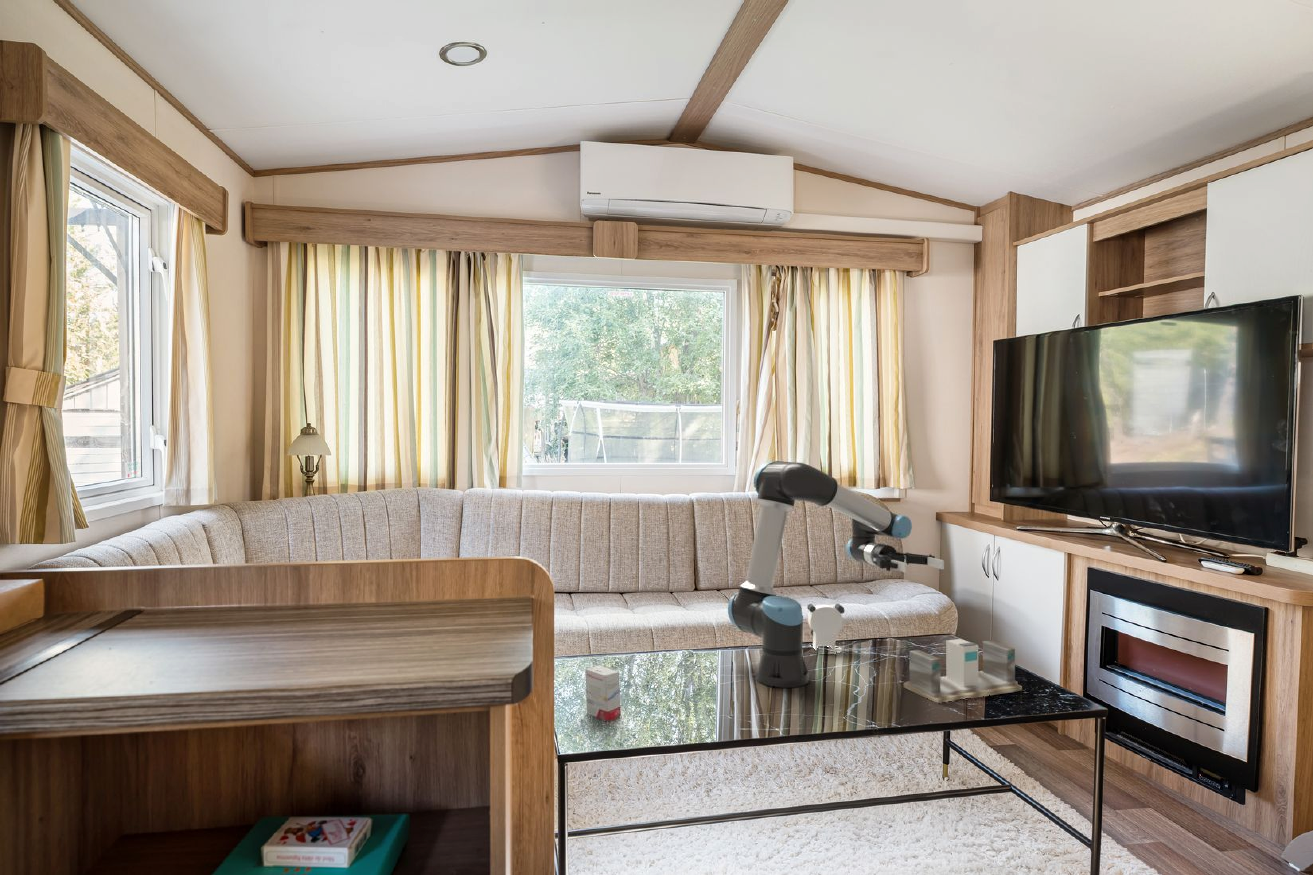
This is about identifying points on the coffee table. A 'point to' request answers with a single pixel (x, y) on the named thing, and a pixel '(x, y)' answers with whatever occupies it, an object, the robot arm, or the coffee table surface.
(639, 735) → the coffee table surface
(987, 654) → the board
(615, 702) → the ink box
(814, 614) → the panda figurine
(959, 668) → the block
